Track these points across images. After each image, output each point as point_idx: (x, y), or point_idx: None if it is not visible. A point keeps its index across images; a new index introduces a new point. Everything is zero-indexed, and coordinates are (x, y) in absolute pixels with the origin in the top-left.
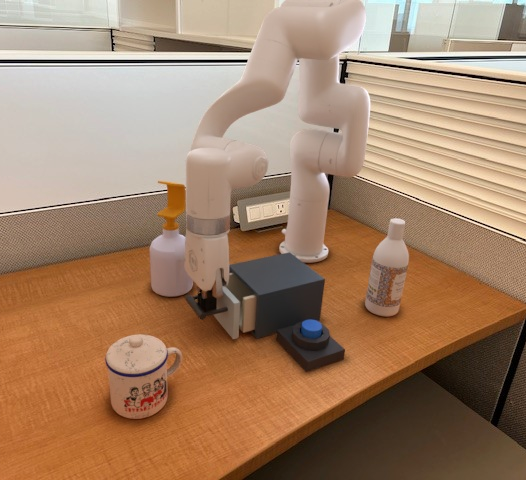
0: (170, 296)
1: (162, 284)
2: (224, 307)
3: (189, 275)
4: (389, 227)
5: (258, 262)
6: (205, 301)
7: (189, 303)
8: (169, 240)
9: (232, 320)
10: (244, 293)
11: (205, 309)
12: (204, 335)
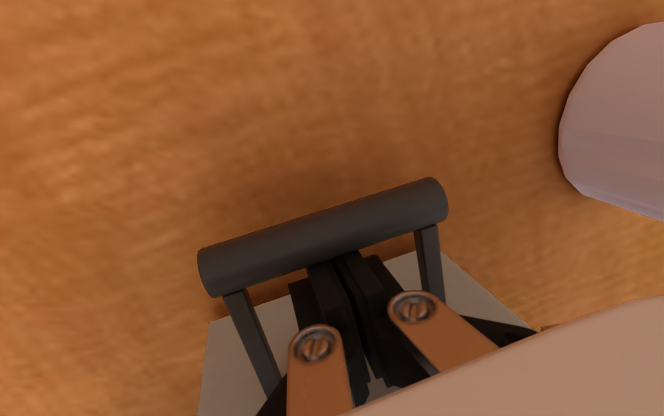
0: (567, 102)
1: (645, 66)
2: None
3: (539, 345)
4: None
5: None
6: (312, 318)
7: (366, 201)
8: None
9: (211, 389)
10: None
11: (301, 283)
12: (278, 213)
